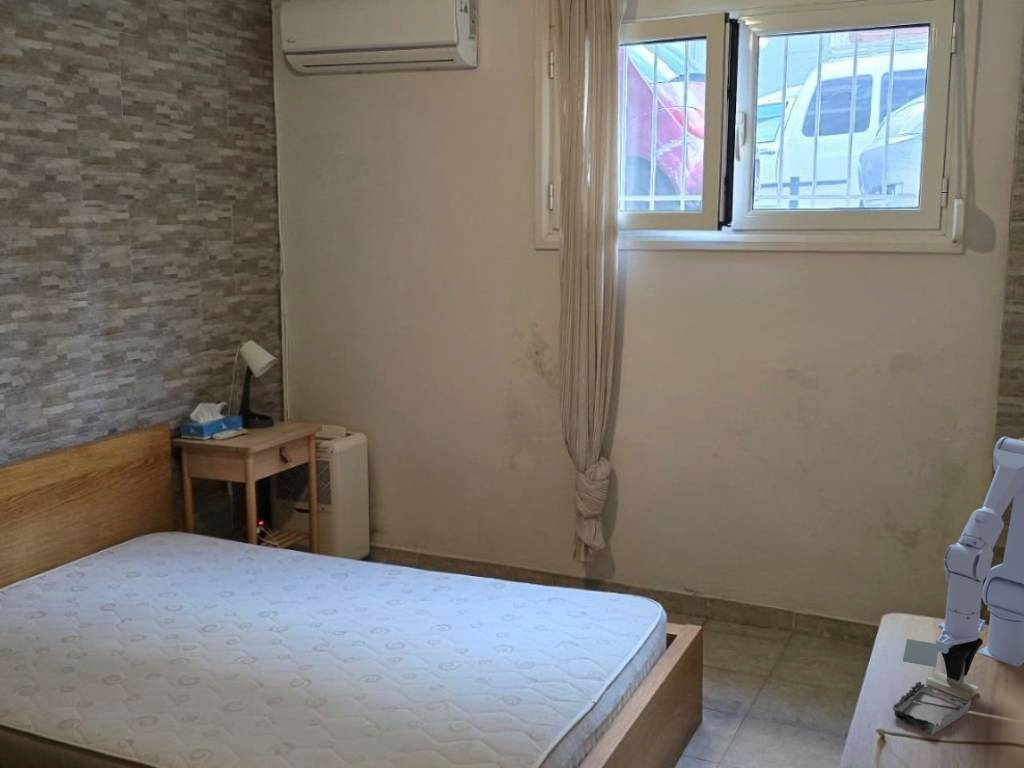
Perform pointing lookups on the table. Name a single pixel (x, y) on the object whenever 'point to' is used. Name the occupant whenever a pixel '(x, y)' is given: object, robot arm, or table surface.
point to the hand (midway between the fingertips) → (957, 676)
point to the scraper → (952, 685)
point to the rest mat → (920, 652)
